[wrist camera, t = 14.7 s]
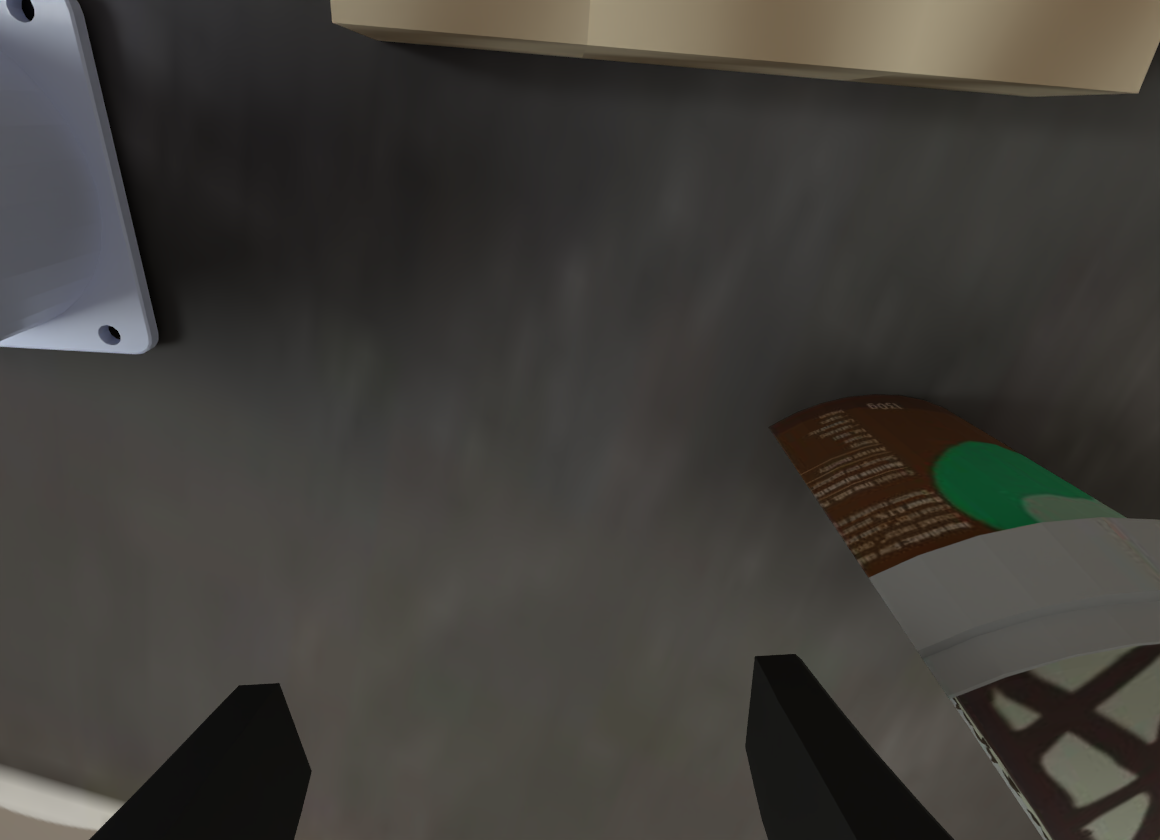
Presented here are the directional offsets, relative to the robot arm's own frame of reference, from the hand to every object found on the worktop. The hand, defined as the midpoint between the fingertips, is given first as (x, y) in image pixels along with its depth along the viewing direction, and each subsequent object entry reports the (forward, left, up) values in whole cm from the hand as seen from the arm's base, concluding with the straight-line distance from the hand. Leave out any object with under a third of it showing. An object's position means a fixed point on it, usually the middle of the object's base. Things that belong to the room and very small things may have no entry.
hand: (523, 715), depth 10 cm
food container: (+12, -1, -10) cm, 15 cm away
